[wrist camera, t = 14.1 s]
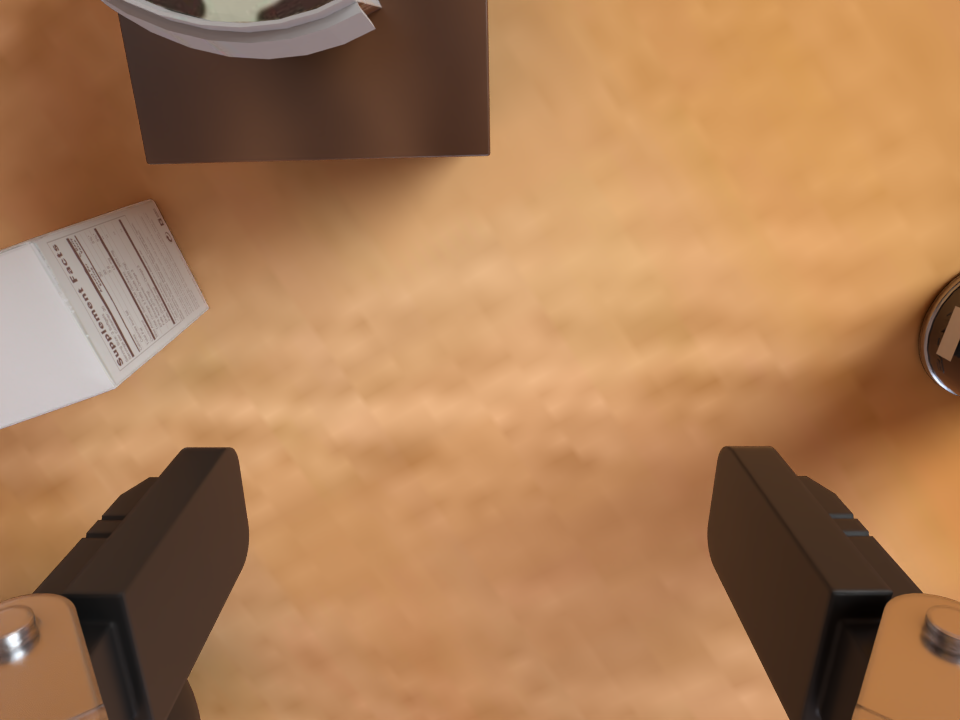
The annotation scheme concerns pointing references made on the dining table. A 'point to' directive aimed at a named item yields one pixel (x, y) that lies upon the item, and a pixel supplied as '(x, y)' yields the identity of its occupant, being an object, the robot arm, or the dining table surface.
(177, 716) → the bowl of black rocks
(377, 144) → the dark wooden box
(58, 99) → the dining table surface
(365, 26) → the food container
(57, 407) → the white packaging box
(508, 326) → the dining table surface
